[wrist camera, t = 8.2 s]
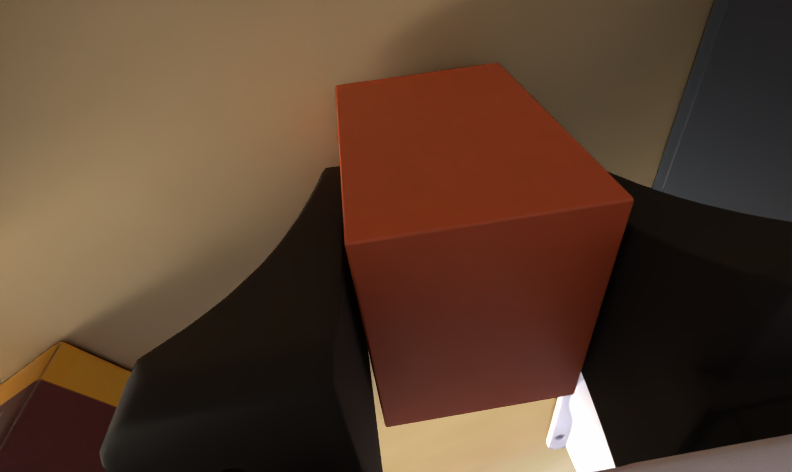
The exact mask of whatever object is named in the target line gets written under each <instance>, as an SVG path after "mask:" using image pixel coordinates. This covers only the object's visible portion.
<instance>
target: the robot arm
mask: <svg viewBox="0 0 792 472" xmlns="http://www.w3.org/2000/svg"><path fill="white" fill-rule="evenodd" d="M608 173H609V174H610V175H611V176H612V177H613V178H614V179H615V180H616V181H617V182H618V183H619V184H620V185H621V186H622V187H623V188H624V189H625V190H626V191H627V192H628V193H629V194H630V195H631V196H632V197H633V199H634V202H633V205H632V209H631V212H630V215H629V218H628V222H627V225H626V228H625V231H624V234H623V238H622V241H621V244H620V247H619V251H618V254H617V257H616V260H615V263H614V267H613V270H612V273H611V276H610V280H609V283H608V286H607V289H606V292H605V296H604V299H603V302H602V305H601V309H600V312H599V315H598V318H597V321H596V325H595V328H594V331H593V334H592V338H591V341H590V344H589V347H588V350H587V354H586V357H585V360H584V363H583V367H582V370H581V373H580V376H579V379H578V383H577V386H576V389H575V392H574V394H573V395H568V396H562V397H558V399H557V402H556V406H555V410H554V414H553V417H552V421H551V425H550V428H549V432H548V436H547V440H546V443H547V445H548V448H550V449H560V448H567V450H568V453H569V455H570V457H571V460H572V462H573V464H574V467H575V469H576V471H577V472H792V222H790V221H784V220H778V219H772V218H766V217H761V216H756V215H751V214H746V213H740V212H736V211H731V210H727V209H723V208H719V207H715V206H710V205H706V204H702V203H698V202H694V201H691V200H687V199H683V198H680V197H677V196H674V195H671V194H667V193H664V192H661V191H658V190H655V189H651V188H649V187H646V186H643V185H640V184H637V183H635V182H632V181H630V180H627V179H625V178H622V177H620V176H617V175H615V174H612V173H610V172H608ZM99 453H100V458H101V462H102V466H103V467H104V468H105V470H106V471H107V472H383V471H382V463H381V455H380V446H379V438H378V430H377V422H376V414H375V405H374V397H373V388H372V380H371V371H370V362H369V354H368V346H367V342H366V337H365V333H364V328H363V324H362V320H361V315H360V311H359V306H358V302H357V297H356V293H355V288H354V284H353V280H352V275H351V271H350V266H349V262H348V257H347V253H346V248H345V241H344V225H343V208H342V191H341V174H340V166H337V167H330V168H326V169H325V170H324V171H323V172H322V174H321V177H320V179H319V181H318V183H317V185H316V187H315V189H314V191H313V193H312V194H311V196H310V198H309V200H308V202H307V203H306V205H305V207H304V208H303V210H302V212H301V213H300V215H299V216H298V218H297V220H296V221H295V222H294V224H293V225H292V227H291V228H290V230H289V231H288V232H287V234H286V235H285V237H284V238H283V239H282V241H281V242H280V243H279V245H278V246H277V247H276V248H275V249H274V251H273V252H272V253H271V254H270V255H269V256H268V258H267V259H266V260H265V261H264V262H263V263H262V264H261V265H260V266H259V267H258V268H257V269H256V270H255V271H254V272H253V273H252V274H251V275H250V276H249V277H248V278H247V279H246V280H244V281H243V282H242V283H241V284H240V285H239V286H238V287H237V288H236V289H235V290H234V291H233V292H232V293H230V294H229V295H228V296H227V297H226V298H224V299H223V300H222V301H221V302H219V303H218V304H217V305H216V306H215V307H213V308H212V309H211V310H209V311H208V312H207V313H205V314H204V315H203V316H201V317H200V318H199V319H198V320H196V321H195V322H193V323H192V324H191V325H189V326H188V327H186V328H185V329H183V330H182V331H180V332H179V333H177V334H176V335H174V336H173V337H171V338H170V339H168V340H167V341H165V342H164V343H162V344H161V345H159V346H158V347H156V348H155V349H153V350H152V351H150V352H149V353H147V354H145V355H144V356H142V357H141V358H139V359H138V360H137V362H136V364H135V366H134V368H133V370H132V372H131V374H130V376H129V378H128V380H127V382H126V384H125V387H124V390H123V392H122V395H121V398H120V400H119V403H118V405H117V408H116V410H115V413H114V416H113V418H112V421H111V423H110V426H109V428H108V431H107V434H106V436H105V439H104V441H103V444H102V446H101V449H100V452H99Z"/></svg>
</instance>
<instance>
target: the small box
mask: <svg viewBox="0 0 792 472" xmlns="http://www.w3.org/2000/svg"><path fill="white" fill-rule="evenodd" d="M335 89H336V106H337V123H338V140H339V157H340V174H341V191H342V208H343V225H344V241H345V248H346V253H347V257H348V262H349V266H350V271H351V275H352V280H353V284H354V288H355V293H356V297H357V302H358V306H359V311H360V315H361V320H362V324H363V328H364V333H365V337H366V342H367V346H368V351H369V355H370V360H371V364H372V368H373V373H374V377H375V382H376V386H377V391H378V395H379V400H380V404H381V408H382V413H383V417H384V422H385V425H386V427H391V426H396V425H402V424H408V423H413V422H419V421H425V420H431V419H436V418H442V417H448V416H453V415H459V414H465V413H471V412H476V411H482V410H488V409H493V408H499V407H505V406H511V405H516V404H522V403H528V402H533V401H539V400H545V399H550V398H556V397H562V396H568V395H573V394H574V392H575V389H576V386H577V383H578V379H579V376H580V373H581V370H582V367H583V363H584V360H585V357H586V354H587V350H588V347H589V344H590V341H591V338H592V334H593V331H594V328H595V325H596V321H597V318H598V315H599V312H600V309H601V305H602V302H603V299H604V296H605V292H606V289H607V286H608V283H609V280H610V276H611V273H612V270H613V267H614V263H615V260H616V257H617V254H618V251H619V247H620V244H621V241H622V238H623V234H624V231H625V228H626V225H627V222H628V218H629V215H630V212H631V209H632V205H633V202H634V199H633V197H632V196H631V195H630V194H629V193H628V192H627V191H626V190H625V189H624V188H623V187H622V186H621V185H620V184H619V183H618V182H617V181H616V180H615V179H614V178H613V177H612V176H611V175H610V174H609V173H608V172H607V171H606V170H605V169H604V168H603V167H602V166H601V165H600V164H599V163H598V162H597V161H596V160H595V159H594V158H593V157H592V156H591V155H590V154H589V153H588V152H587V151H586V150H585V149H584V148H583V147H582V146H581V145H580V144H579V143H578V142H577V141H576V140H575V139H574V138H573V137H572V136H571V135H570V134H569V133H568V132H567V131H566V130H565V129H564V128H563V127H562V126H561V125H560V124H559V123H558V122H557V121H556V120H555V119H554V118H553V117H552V116H551V115H550V114H549V113H548V112H547V111H546V110H545V109H544V108H543V107H542V106H541V105H540V104H539V103H538V102H537V101H536V100H535V99H534V98H533V97H532V96H531V95H530V94H529V93H528V92H527V91H526V90H525V89H524V88H523V87H522V86H521V85H520V84H519V83H518V82H517V81H516V80H515V79H514V78H513V77H512V76H511V75H510V74H509V73H508V72H507V71H506V70H505V69H504V68H503V67H502V66H501V65H500V64H499V63H491V64H484V65H477V66H470V67H463V68H456V69H449V70H442V71H435V72H428V73H421V74H414V75H407V76H400V77H393V78H386V79H379V80H371V81H364V82H357V83H350V84H343V85H337V86H336V88H335Z"/></svg>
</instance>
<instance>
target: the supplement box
mask: <svg viewBox="0 0 792 472" xmlns="http://www.w3.org/2000/svg"><path fill="white" fill-rule="evenodd" d="M130 374H131V372H130V371H128V370H125V369H123V368H121V367H119V366H116V365H114V364H112V363H109V362H107V361H105V360H103V359H100V358H98V357H96V356H94V355H91V354H89V353H87V352H85V351H82V350H80V349H78V348H76V347H73V346H71V345H69V344H67V343H65V342H59V343H57V344H56V345H54V346H53V347H51V348H50V349H49V350H47V351H46V352H44V353H43V354H42V355H40V356H39V357H38V358H36V359H35V360H34V361H32V362H31V363H30V364H28V365H27V366H26V367H24V368H23V369H22V370H20V371H19V372H18V373H16V374H15V375H14V376H12V377H11V378H10V379H8V380H7V381H5V382H4V383H3V384H1V385H0V472H107V471H106V470H105V468H104V467H103V466H102V462H101V458H100V453H99V452H100V449H101V446H102V444H103V441H104V439H105V436H106V434H107V431H108V428H109V426H110V423H111V421H112V418H113V416H114V413H115V410H116V408H117V405H118V403H119V400H120V398H121V395H122V392H123V390H124V387H125V384H126V382H127V380H128V378H129V376H130Z"/></svg>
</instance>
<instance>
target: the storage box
mask: <svg viewBox="0 0 792 472" xmlns="http://www.w3.org/2000/svg"><path fill="white" fill-rule="evenodd" d="M652 189H655V190H658V191H661V192H664V193H667V194H671V195H674V196H677V197H680V198H683V199H687V200H691V201H694V202H698V203H702V204H706V205H710V206H715V207H719V208H723V209H727V210H731V211H736V212H740V213H746V214H751V215H756V216H761V217H766V218H772V219H778V220H784V221H790V222H792V0H715V1H714V4H713V7H712V10H711V13H710V16H709V19H708V22H707V25H706V28H705V31H704V34H703V37H702V40H701V43H700V46H699V49H698V52H697V55H696V58H695V61H694V64H693V67H692V70H691V73H690V76H689V79H688V82H687V85H686V88H685V91H684V94H683V97H682V100H681V103H680V106H679V109H678V112H677V115H676V118H675V121H674V124H673V127H672V130H671V133H670V136H669V139H668V142H667V145H666V148H665V151H664V154H663V157H662V160H661V163H660V166H659V169H658V172H657V175H656V178H655V181H654V184H653V187H652Z"/></svg>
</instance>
